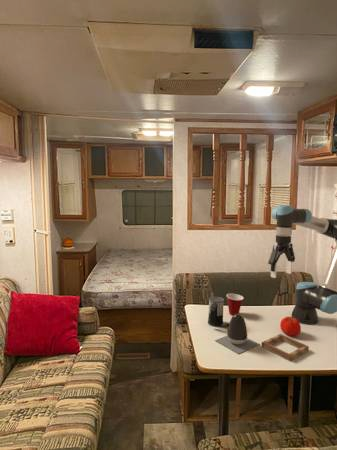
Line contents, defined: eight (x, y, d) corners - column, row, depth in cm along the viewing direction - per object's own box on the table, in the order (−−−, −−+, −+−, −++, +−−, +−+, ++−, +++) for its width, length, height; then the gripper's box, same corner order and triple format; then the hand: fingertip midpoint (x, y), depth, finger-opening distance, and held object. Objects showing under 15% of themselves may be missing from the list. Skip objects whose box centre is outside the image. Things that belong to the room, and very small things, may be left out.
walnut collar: (280, 338, 169) (280, 333, 169) (308, 351, 156) (308, 346, 156) (261, 346, 160) (261, 342, 159) (289, 361, 147) (290, 356, 146)
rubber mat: (235, 332, 175) (235, 332, 174) (259, 344, 162) (259, 344, 162) (214, 340, 165) (214, 340, 165) (238, 354, 152) (238, 353, 152)
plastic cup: (243, 318, 194) (244, 299, 192) (225, 316, 196) (226, 298, 194) (242, 311, 204) (243, 293, 203) (225, 310, 206) (226, 292, 205)
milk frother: (207, 319, 192) (208, 296, 190) (233, 320, 191) (234, 296, 189) (208, 330, 178) (209, 304, 176) (237, 331, 177) (238, 305, 175)
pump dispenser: (225, 345, 160) (226, 316, 158) (228, 336, 170) (229, 309, 168) (245, 349, 156) (246, 319, 155) (248, 339, 166) (249, 312, 164)
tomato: (282, 327, 182) (283, 313, 181) (302, 333, 175) (303, 318, 174) (276, 334, 173) (277, 319, 172) (297, 340, 167) (298, 324, 166)
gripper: (290, 232, 173) (288, 270, 175) (262, 236, 158) (260, 277, 161) (303, 234, 167) (301, 273, 169) (275, 238, 152) (272, 281, 155)
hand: (281, 275), depth 165 cm, fingers open, 13 cm apart
